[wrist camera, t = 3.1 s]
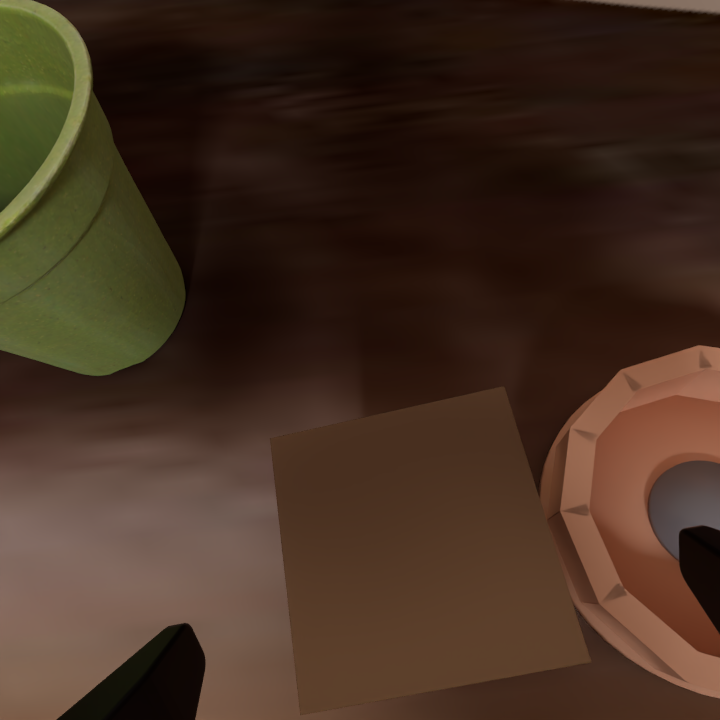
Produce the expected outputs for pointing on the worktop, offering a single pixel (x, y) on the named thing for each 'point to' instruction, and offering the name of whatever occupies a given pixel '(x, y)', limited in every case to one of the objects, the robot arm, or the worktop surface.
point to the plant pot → (72, 212)
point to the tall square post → (418, 555)
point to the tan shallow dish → (641, 511)
